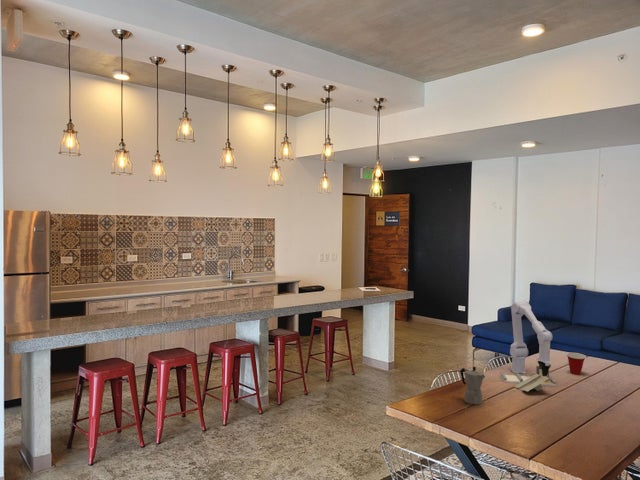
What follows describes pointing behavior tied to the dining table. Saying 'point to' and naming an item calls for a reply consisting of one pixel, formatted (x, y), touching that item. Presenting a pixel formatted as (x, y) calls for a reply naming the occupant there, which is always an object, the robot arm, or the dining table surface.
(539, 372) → the picture frame
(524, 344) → the robot arm
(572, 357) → the plastic cup
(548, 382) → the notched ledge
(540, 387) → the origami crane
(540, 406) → the dining table surface
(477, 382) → the coffeepot
